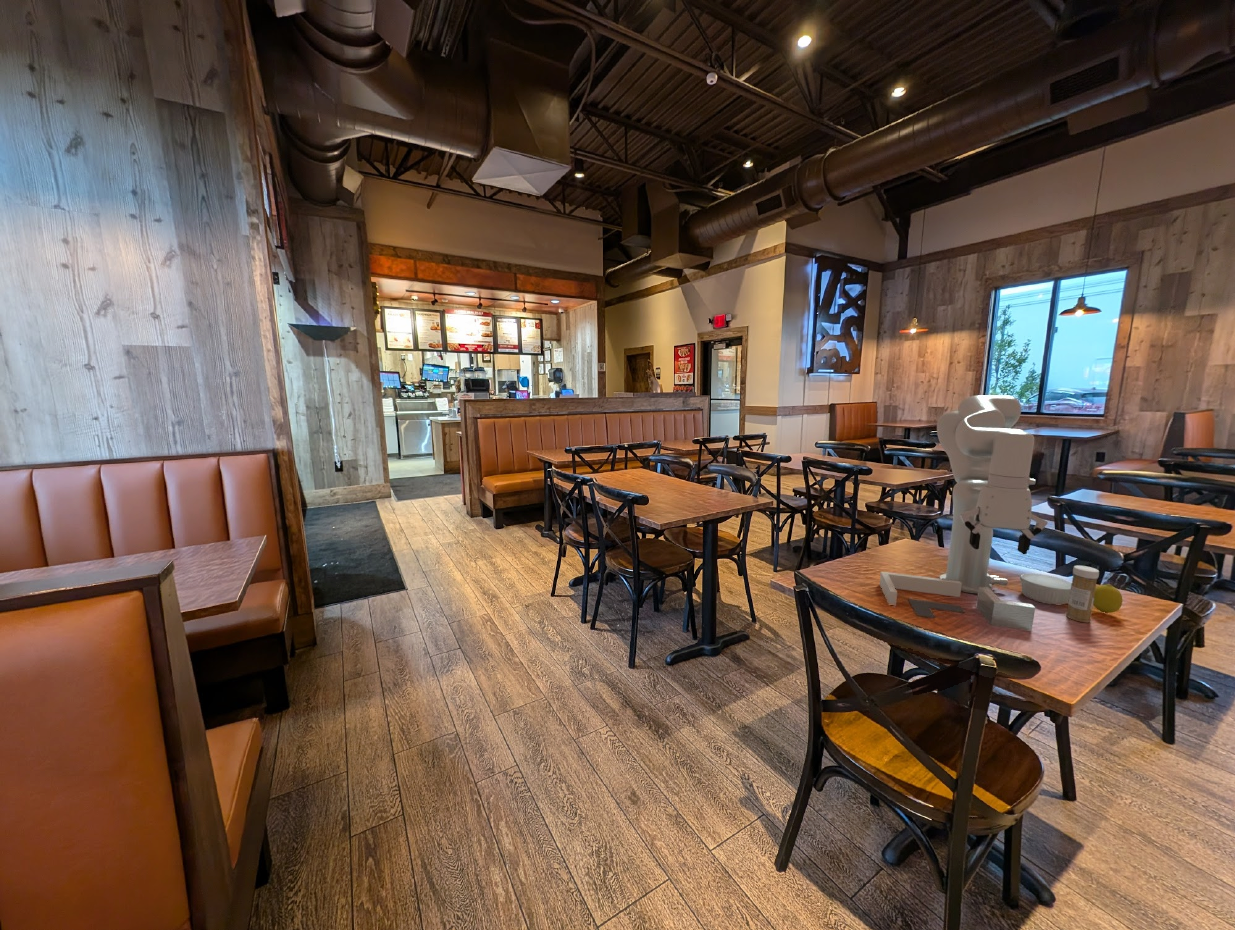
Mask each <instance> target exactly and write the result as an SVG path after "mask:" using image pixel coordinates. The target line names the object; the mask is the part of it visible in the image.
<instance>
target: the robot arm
mask: <svg viewBox="0 0 1235 930" xmlns="http://www.w3.org/2000/svg"><path fill="white" fill-rule="evenodd" d="M1021 413H1022V406H1021V403H1020V401H1019V400H1018V398H1016V397H1014V396H1011V395H988V394H986V395H983V394H979V395H977V394H976V395H971V396H967V397H966V398H964V399H963V400H961V402H960V403H959V404H958V407H957V410H955V411H954V410H953V411H952V410H951V411H948V412H945V413H943V414H942V415H941V416H939V418H938V419H937V423H936V433H937V438H938V441H939V444H940V446H941V448H942V449H943V451H944V452H945V453H946V455H947V456H948V460H949V464H950V467H951V472H952V476H953V478H954V481H955V482H956V484H955V485H954V486H953V489H952V507H953V508H952V510H953V512H952V515H953V516H952V525H951V535H950V542H949V550H948V557H947V558H948V559H947V566H946V573H943V574H941V575H939V578H938V579H945V580H953V581H960V582H961V583H962V585H961V592H963V593H970V594H975V595H978V592H979V586H980V587H988V588H989V589H990V590H991V591H992V592H993V586H994V585H998V586H1004V587H1006V586H1008V579H1007V578H999V575H991V574H989V573H988V572H989V565H990V558H991V550H992V543H993V536H994V529H1001V530H1012V531H1013V530H1015V531H1019V532H1020V533H1021V534H1020V535H1019V537H1018V545H1017V552H1019V553H1021V554H1022V555H1027V553H1028V551H1029V550H1030V547H1031V540H1032V539H1035V538H1034V537H1036V536H1037V535H1038V534H1040V533H1041V532H1042V530H1043V529H1044V528H1045V527H1047V525H1048V524H1049V523H1048V521H1046V520H1045V519H1043V518H1041V517H1039V516H1037V515H1036V514H1033V513H1032V510H1033V509H1032V506H1033V505H1032V501H1033V500H1032V493H1031V490H1030V488H1029V486H1033V485H1034V486H1035V485H1036V479H1034V478H1031V477H1030V472H1031V466H1032V465H1031V464H1032V460H1033V451H1034V445H1035V437H1034V435H1033V433H1030V432H1027V431H1025V430H1023V429H1019V428H1018V429H1017V428H1012V427H1014V425H1016V424H1017V422H1018V421H1019V419H1020V416H1021ZM1032 521H1034V522H1035V525H1034V526H1032V527H1031V528H1030V526H1031V522H1032Z"/></svg>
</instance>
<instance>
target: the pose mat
mask: <svg viewBox="0 0 1235 930" xmlns="http://www.w3.org/2000/svg"><path fill="white" fill-rule="evenodd" d="M907 600H908V602H909V605H910V606H911V608H912V609H913V612H914V613H915V615H916V616H917V617H924V618H929V619H930V618H931V619H936V616H935V614H934V613H933V611H932V609H933V610H939V611H946V612H952V613H960V614H965V613H966V611H965V610H964V609H963V608H962V607H961V605H960V604H959V605H958V604H951V603H945V602H944V603H943V602H936V601H935V602H934V601H929V600H922V599H916V598H915V599H913V598H907Z"/></svg>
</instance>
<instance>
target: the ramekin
mask: <svg viewBox="0 0 1235 930" xmlns="http://www.w3.org/2000/svg"><path fill="white" fill-rule="evenodd" d="M1019 579H1020V582H1021V583H1020V584H1021V585H1020V586H1021V592H1022V594H1023V596H1025V598H1028V599H1030V600H1032V599H1033V601H1035V602H1038V601H1039V602H1038V603H1041V602H1042V603H1043V604H1045V603H1048V604H1047V605H1051V604H1064V605H1066V604H1068V601H1069V595H1070V590H1071V584H1072V582H1071V581H1068V580H1066V579H1063V578H1059V577H1056V576H1052V575H1048V574H1041V573H1030V572H1029V573H1023V574H1021V575H1020V577H1019Z"/></svg>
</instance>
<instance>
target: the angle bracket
mask: <svg viewBox="0 0 1235 930" xmlns="http://www.w3.org/2000/svg"><path fill="white" fill-rule="evenodd" d="M975 607H976V609H977V610H978V612H979V613H980V614H981V615H982V616H983V618H985V620H986V621H987V622H988V624H990V626H995V627H1001V628H1009V629H1014V630H1021V631H1027V632H1032V631H1033V625H1034V624H1033V623H1034V618H1035V612H1036V607H1035V606H1034V605H1033V604H1032V603H1026V602H1018V601H1017V602H1016V601H1009V600H1002V599H1000V597H998V596H997V594H996V593H995V592H994V591H993V590H992V591H991V590H990V589H989V588H988V587H980V586H979V592H978V594H977V601H976V606H975Z"/></svg>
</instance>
